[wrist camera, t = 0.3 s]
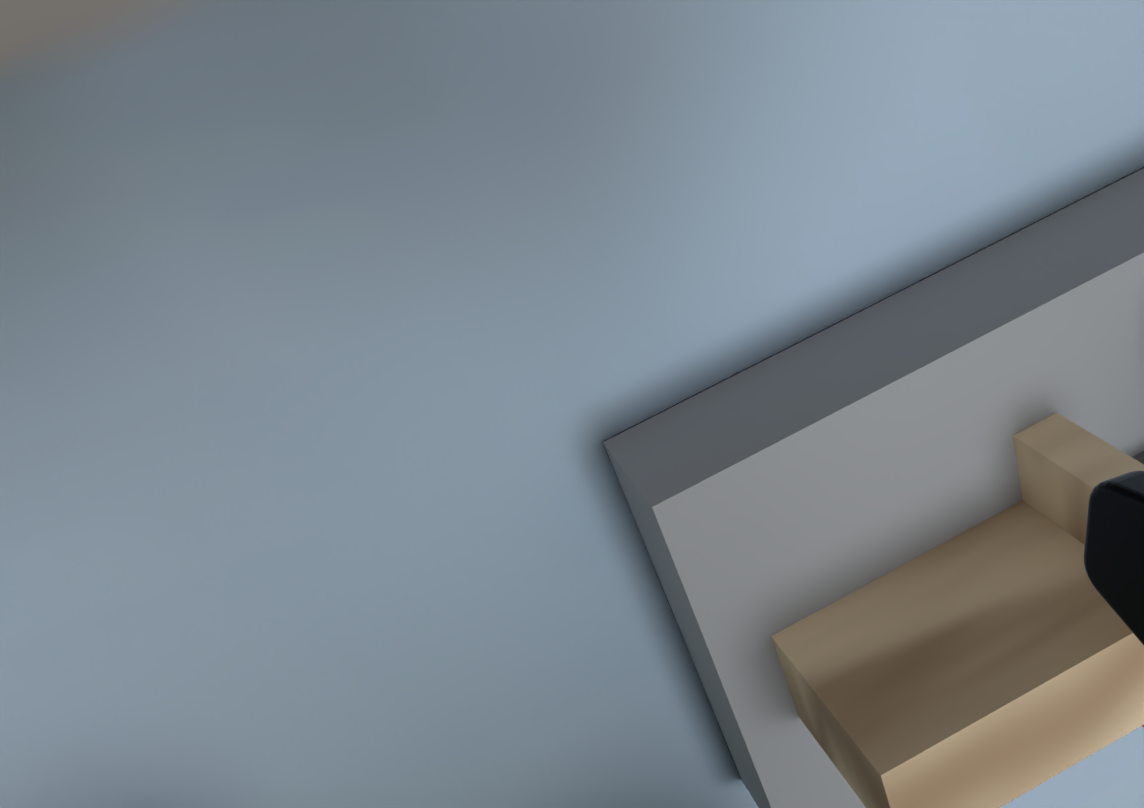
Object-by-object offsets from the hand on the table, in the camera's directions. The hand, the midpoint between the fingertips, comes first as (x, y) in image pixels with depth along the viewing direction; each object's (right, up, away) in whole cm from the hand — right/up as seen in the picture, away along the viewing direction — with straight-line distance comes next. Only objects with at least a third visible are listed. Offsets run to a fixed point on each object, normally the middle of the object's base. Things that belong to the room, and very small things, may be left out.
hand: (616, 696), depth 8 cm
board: (+11, +1, +20) cm, 23 cm away
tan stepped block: (+10, -2, +17) cm, 20 cm away
